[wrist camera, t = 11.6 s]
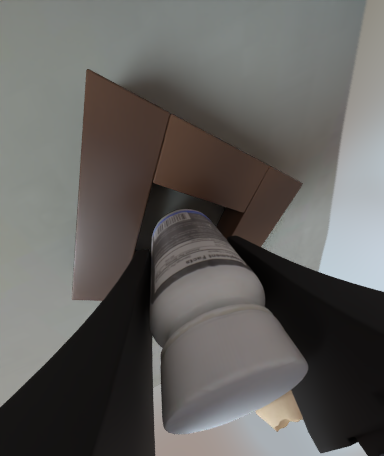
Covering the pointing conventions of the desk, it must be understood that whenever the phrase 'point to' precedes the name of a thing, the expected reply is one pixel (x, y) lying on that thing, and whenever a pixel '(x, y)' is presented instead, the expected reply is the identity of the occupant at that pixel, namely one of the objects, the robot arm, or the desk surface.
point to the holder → (157, 181)
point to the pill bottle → (213, 329)
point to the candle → (281, 411)
